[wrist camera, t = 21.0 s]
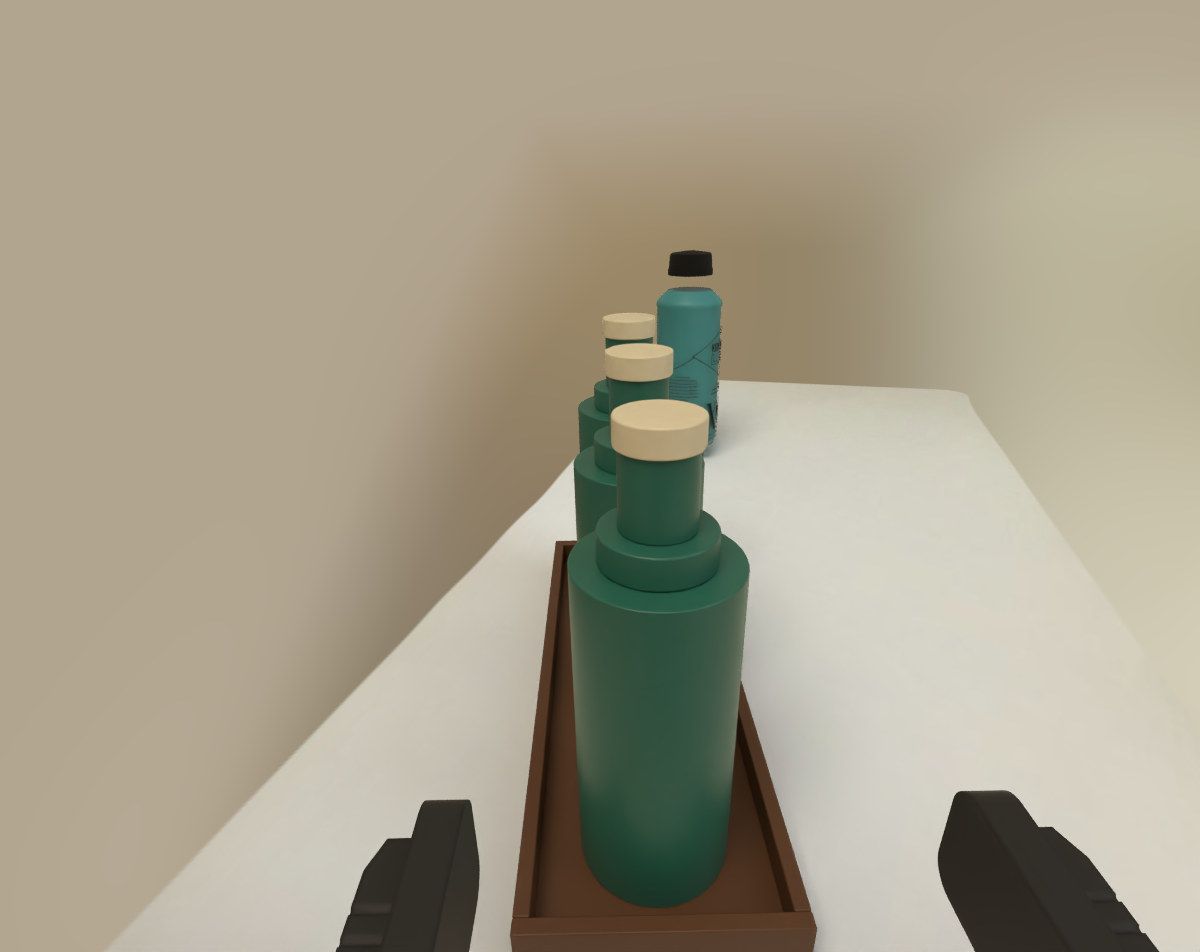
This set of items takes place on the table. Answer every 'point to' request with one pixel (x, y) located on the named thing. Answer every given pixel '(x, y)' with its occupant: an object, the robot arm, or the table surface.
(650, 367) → the row bottle middle
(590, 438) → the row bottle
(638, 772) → the green bottle
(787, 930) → the tray
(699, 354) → the beverage bottle
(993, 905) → the robot arm
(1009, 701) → the table surface
